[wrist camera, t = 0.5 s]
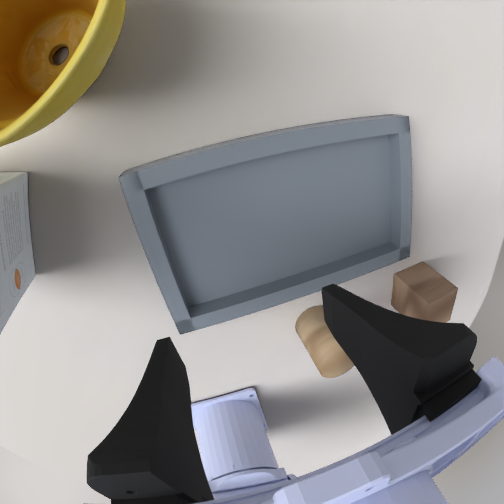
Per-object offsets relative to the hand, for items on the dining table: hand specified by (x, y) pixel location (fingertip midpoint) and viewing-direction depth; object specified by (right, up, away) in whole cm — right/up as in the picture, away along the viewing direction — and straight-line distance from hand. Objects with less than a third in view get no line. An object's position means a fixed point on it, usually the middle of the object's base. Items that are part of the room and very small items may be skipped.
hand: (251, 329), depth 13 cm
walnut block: (+16, 0, +15) cm, 22 cm away
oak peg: (+6, -3, +14) cm, 15 cm away
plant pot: (-12, +16, 0) cm, 20 cm away
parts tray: (+3, +6, +8) cm, 11 cm away
